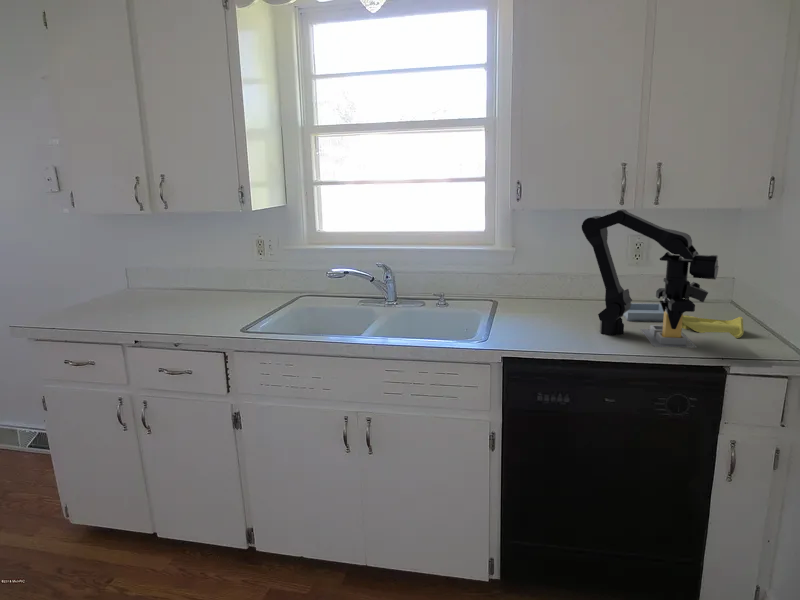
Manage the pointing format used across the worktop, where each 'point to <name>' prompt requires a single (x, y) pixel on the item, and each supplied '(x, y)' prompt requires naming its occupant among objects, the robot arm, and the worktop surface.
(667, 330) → the block
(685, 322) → the plastic component
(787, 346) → the worktop surface
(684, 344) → the board
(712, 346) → the worktop surface
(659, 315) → the parts tray
